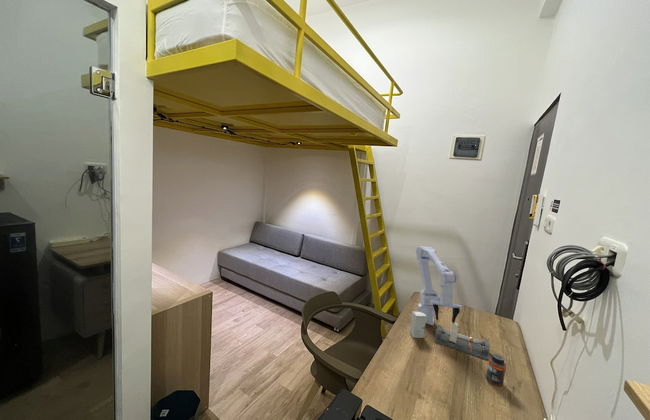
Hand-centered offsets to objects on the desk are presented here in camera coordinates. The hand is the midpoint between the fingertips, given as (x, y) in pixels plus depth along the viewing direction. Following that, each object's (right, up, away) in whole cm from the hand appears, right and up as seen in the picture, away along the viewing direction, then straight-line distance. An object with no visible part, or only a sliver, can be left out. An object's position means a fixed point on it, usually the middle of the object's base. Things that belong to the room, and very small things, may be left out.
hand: (444, 320), depth 126 cm
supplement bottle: (+8, -14, -25) cm, 30 cm away
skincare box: (-14, -9, +2) cm, 17 cm away
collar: (+3, -9, -1) cm, 10 cm away
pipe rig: (+7, -11, -3) cm, 13 cm away
